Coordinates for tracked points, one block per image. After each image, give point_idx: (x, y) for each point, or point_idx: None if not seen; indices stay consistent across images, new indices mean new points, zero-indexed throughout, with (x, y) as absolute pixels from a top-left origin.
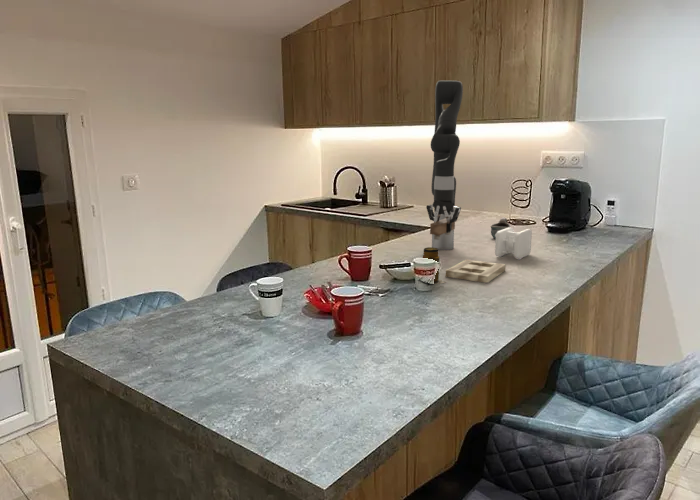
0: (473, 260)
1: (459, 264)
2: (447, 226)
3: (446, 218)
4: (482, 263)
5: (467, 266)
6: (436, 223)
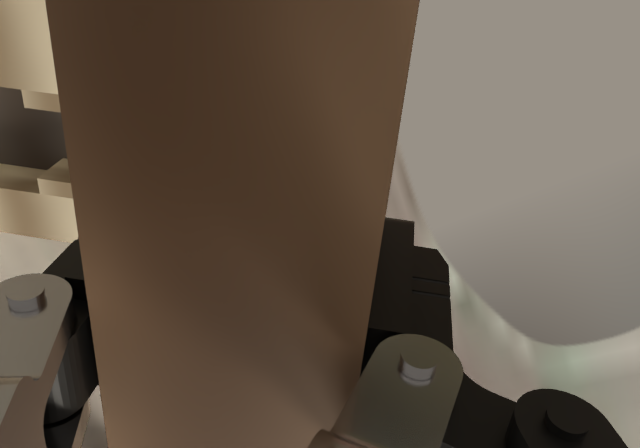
0: None
1: None
2: None
3: (32, 371)
4: (38, 192)
5: None
6: (250, 25)
